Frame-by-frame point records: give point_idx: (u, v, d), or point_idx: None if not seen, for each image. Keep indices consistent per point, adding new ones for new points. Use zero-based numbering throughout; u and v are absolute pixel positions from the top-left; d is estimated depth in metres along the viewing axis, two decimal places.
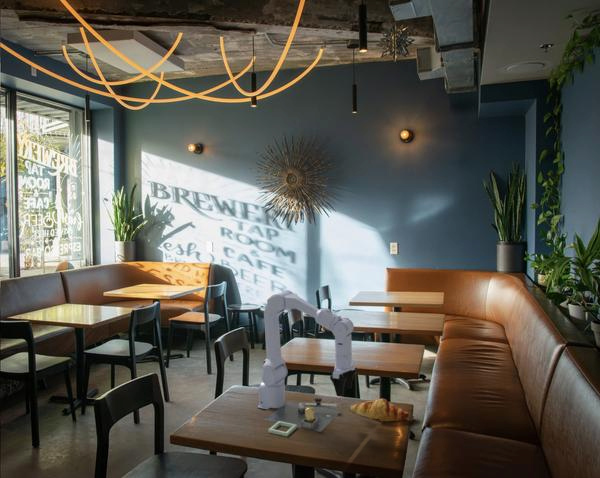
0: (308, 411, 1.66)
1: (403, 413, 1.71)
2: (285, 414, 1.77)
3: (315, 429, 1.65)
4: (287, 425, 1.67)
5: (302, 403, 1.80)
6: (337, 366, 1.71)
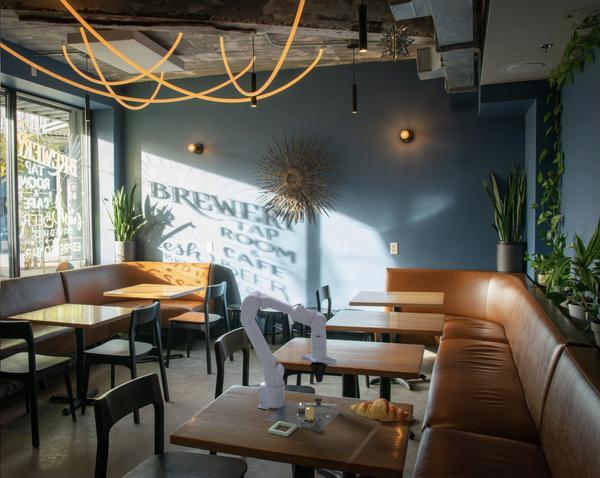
0: (308, 411, 1.66)
1: (403, 413, 1.71)
2: (285, 414, 1.77)
3: (315, 429, 1.65)
4: (287, 425, 1.67)
5: (302, 403, 1.80)
6: None
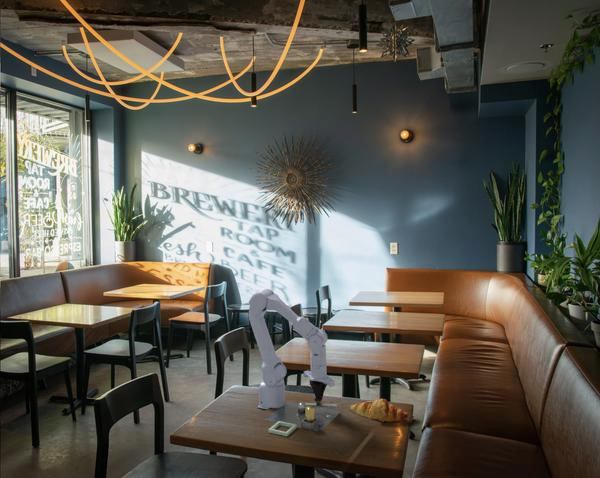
0: (309, 411, 1.66)
1: (402, 413, 1.71)
2: (285, 414, 1.77)
3: (315, 429, 1.65)
4: (287, 425, 1.67)
5: (302, 403, 1.80)
6: None
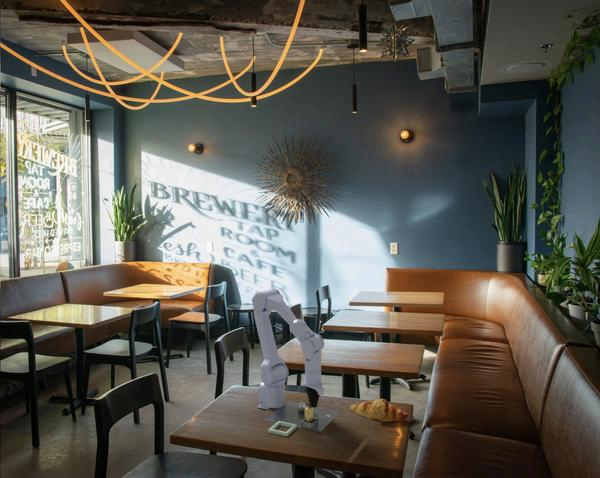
0: (308, 410, 1.66)
1: (402, 414, 1.71)
2: (285, 414, 1.77)
3: (315, 429, 1.65)
4: (287, 425, 1.67)
5: (302, 403, 1.79)
6: None
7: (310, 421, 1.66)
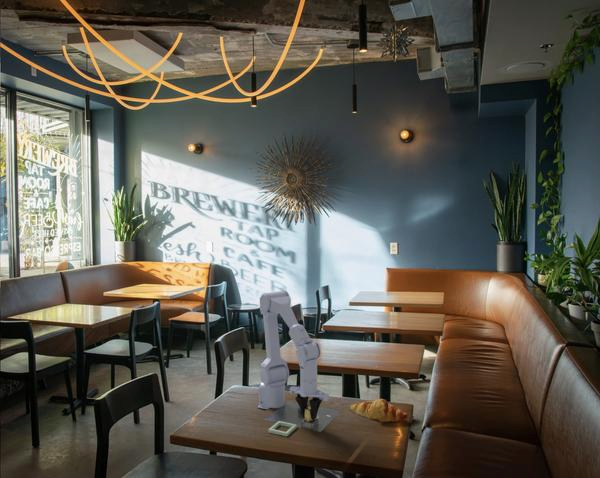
0: (308, 411, 1.66)
1: (402, 414, 1.70)
2: (285, 414, 1.77)
3: (315, 429, 1.65)
4: (287, 425, 1.67)
5: None
6: None
7: (310, 421, 1.66)
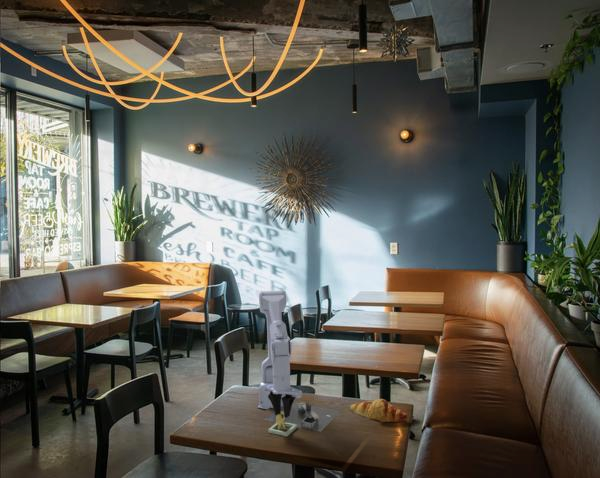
0: (278, 416, 1.64)
1: (401, 414, 1.70)
2: None
3: (315, 429, 1.65)
4: (287, 425, 1.67)
5: (302, 403, 1.79)
6: None
7: (281, 427, 1.64)
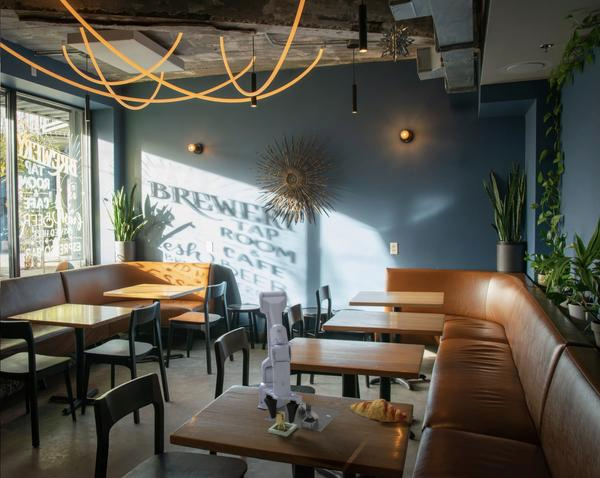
0: (278, 416, 1.64)
1: (401, 414, 1.70)
2: (285, 414, 1.77)
3: (315, 429, 1.65)
4: (287, 425, 1.67)
5: (302, 403, 1.79)
6: None
7: (281, 427, 1.64)
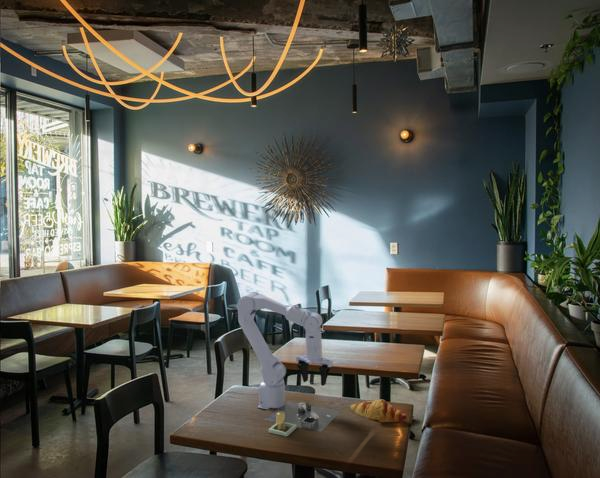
0: (278, 416, 1.64)
1: (400, 415, 1.70)
2: (285, 414, 1.77)
3: (315, 429, 1.65)
4: (287, 425, 1.67)
5: (302, 403, 1.79)
6: None
7: (281, 427, 1.64)
